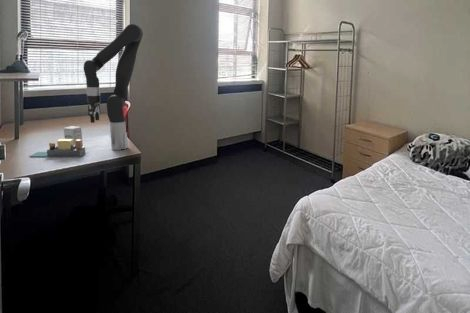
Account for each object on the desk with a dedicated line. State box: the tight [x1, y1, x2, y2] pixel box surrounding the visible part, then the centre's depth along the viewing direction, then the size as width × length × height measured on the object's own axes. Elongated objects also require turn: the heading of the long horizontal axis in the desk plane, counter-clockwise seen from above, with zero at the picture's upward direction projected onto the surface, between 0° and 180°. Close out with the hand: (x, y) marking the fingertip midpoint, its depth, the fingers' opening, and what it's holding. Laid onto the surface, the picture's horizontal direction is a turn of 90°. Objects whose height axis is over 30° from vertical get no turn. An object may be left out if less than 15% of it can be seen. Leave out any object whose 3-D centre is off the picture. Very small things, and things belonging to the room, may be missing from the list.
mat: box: [29, 151, 49, 158], centre depth 193 cm, size 9×9×1 cm
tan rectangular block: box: [56, 138, 74, 149], centre depth 192 cm, size 7×4×5 cm, turn 94°
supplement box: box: [63, 125, 84, 147], centre depth 210 cm, size 7×7×13 cm
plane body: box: [46, 138, 86, 158], centre depth 192 cm, size 18×8×9 cm, turn 94°
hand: (95, 121), depth 204 cm, fingers open, 8 cm apart
